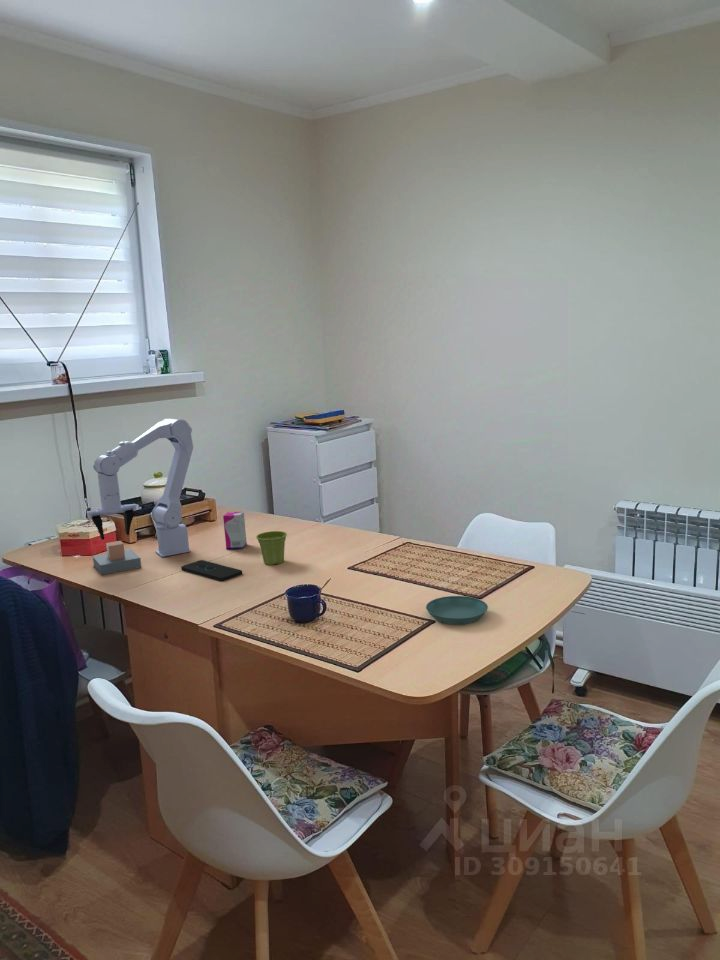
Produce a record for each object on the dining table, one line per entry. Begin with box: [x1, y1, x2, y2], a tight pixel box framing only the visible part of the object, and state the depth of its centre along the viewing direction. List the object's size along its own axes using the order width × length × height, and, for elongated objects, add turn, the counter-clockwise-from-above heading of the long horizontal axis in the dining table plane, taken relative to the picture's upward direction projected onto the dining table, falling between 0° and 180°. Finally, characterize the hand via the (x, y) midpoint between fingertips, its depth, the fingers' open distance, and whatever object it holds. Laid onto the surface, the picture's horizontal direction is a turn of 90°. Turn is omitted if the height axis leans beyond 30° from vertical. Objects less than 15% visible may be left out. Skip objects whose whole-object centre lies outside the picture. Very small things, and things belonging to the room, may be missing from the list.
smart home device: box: [180, 559, 243, 582], centre depth 226 cm, size 8×2×20 cm
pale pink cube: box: [105, 540, 125, 560], centre depth 235 cm, size 4×4×4 cm
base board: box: [92, 548, 142, 576], centre depth 236 cm, size 12×12×3 cm
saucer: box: [425, 595, 489, 626], centre depth 182 cm, size 15×15×3 cm
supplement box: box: [222, 511, 248, 550], centre depth 250 cm, size 6×6×12 cm
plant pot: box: [255, 530, 288, 566], centre depth 231 cm, size 9×9×9 cm
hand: (115, 536), depth 236 cm, fingers open, 7 cm apart
